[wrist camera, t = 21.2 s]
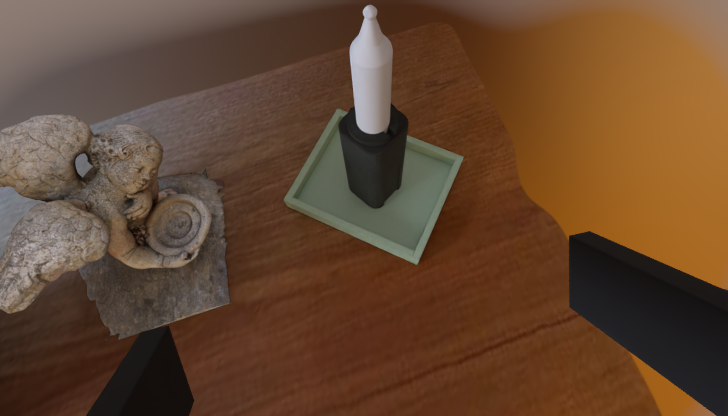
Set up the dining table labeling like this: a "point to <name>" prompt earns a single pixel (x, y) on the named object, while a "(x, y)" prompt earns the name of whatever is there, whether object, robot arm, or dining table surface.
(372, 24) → the candle
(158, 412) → the robot arm
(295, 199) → the tray
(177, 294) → the cherub figurine
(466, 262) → the dining table surface
